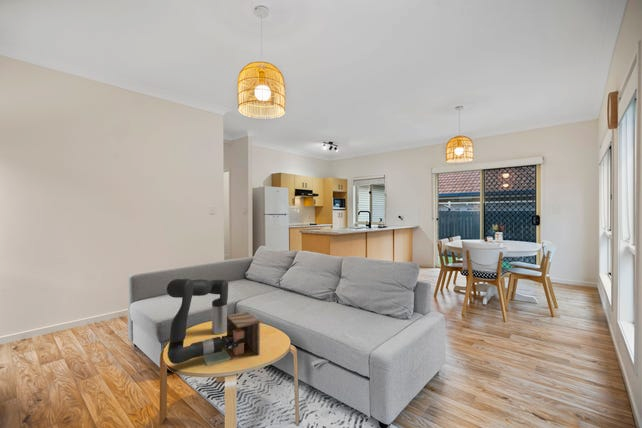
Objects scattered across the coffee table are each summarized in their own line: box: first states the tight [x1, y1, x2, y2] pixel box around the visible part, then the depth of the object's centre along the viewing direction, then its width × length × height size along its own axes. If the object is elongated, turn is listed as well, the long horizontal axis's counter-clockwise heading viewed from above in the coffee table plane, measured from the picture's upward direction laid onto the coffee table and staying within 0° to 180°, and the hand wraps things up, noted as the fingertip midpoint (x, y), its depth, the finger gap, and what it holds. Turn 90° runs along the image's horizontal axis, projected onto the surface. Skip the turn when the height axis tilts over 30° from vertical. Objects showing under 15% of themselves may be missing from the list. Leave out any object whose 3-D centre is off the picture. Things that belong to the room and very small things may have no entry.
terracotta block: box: [232, 328, 245, 356], centre depth 159 cm, size 4×4×12 cm
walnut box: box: [226, 311, 261, 356], centre depth 161 cm, size 19×12×18 cm, turn 34°
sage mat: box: [201, 349, 232, 366], centre depth 153 cm, size 11×12×1 cm
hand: (243, 338), depth 161 cm, fingers closed on terracotta block, 4 cm apart
